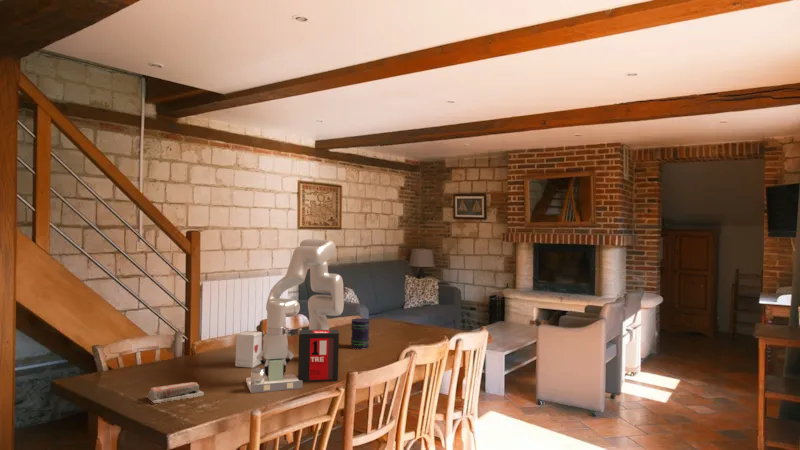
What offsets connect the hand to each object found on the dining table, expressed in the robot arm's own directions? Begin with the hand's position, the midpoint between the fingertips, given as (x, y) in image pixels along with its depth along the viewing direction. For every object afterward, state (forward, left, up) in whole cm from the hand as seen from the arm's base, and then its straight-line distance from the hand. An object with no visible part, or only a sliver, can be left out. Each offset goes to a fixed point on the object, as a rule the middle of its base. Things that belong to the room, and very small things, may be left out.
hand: (274, 374), depth 221 cm
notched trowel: (+38, +8, -4) cm, 39 cm away
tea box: (0, 0, -2) cm, 2 cm away
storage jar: (-54, -53, -3) cm, 75 cm away
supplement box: (+7, -32, -3) cm, 32 cm away
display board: (+1, +3, -3) cm, 5 cm away
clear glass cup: (+8, +8, -2) cm, 11 cm away
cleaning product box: (-18, 0, -3) cm, 18 cm away
